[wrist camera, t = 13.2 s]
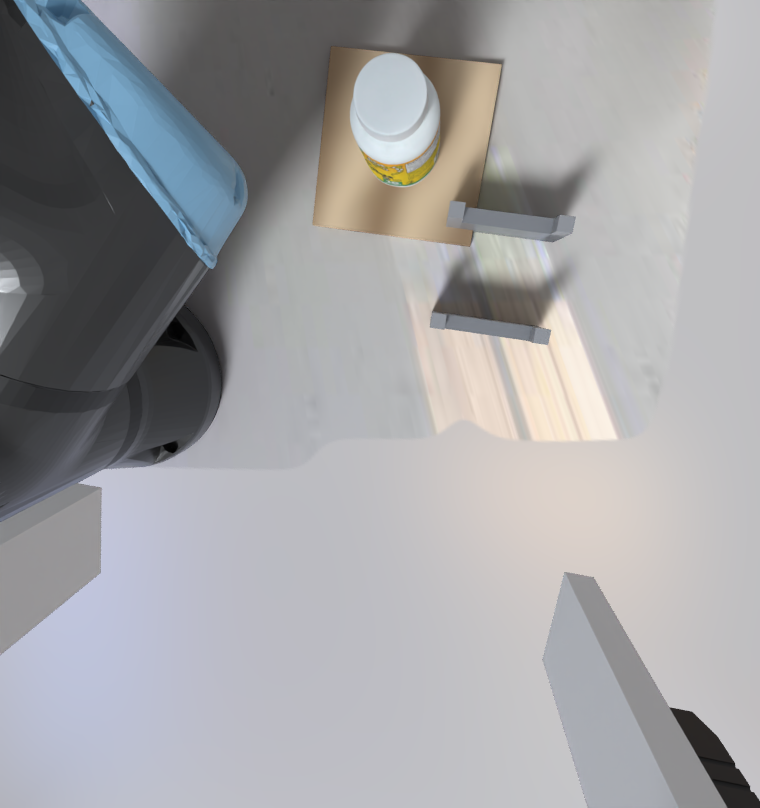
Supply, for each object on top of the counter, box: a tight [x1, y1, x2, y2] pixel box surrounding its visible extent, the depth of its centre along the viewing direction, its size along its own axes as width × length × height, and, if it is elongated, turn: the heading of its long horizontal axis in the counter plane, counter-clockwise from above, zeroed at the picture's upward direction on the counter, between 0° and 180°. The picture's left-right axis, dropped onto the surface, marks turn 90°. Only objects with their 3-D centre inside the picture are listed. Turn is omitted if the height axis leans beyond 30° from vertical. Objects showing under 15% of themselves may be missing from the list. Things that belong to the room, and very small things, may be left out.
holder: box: [430, 201, 576, 345], centre depth 34 cm, size 8×8×5 cm
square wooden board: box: [313, 46, 502, 247], centre depth 35 cm, size 12×12×1 cm
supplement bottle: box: [350, 53, 440, 187], centre depth 30 cm, size 5×5×10 cm
